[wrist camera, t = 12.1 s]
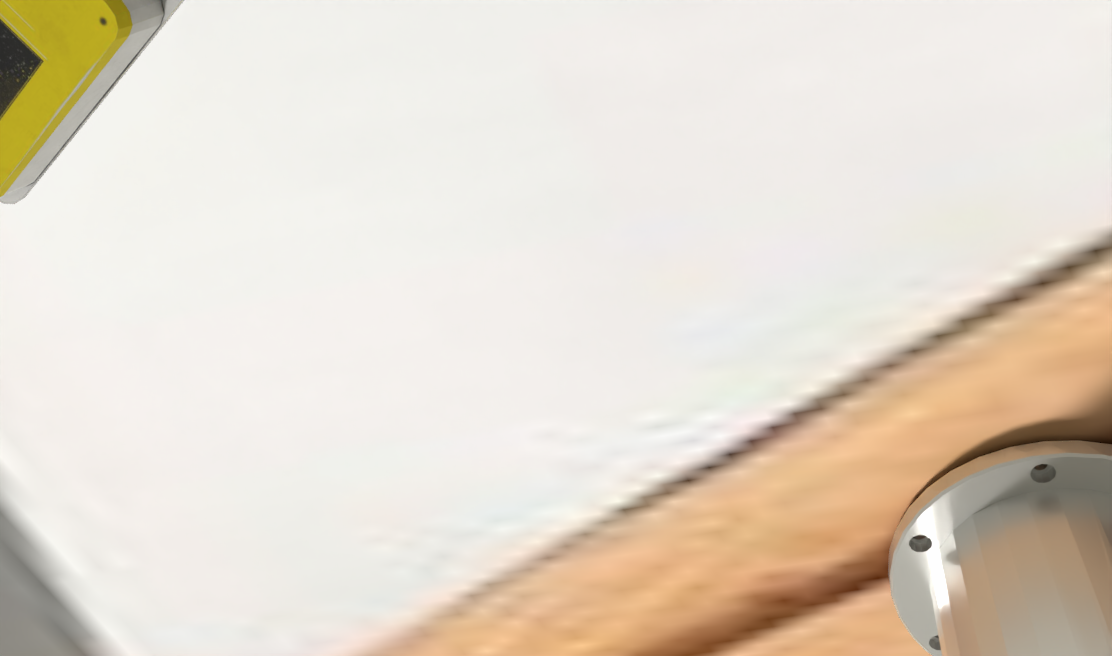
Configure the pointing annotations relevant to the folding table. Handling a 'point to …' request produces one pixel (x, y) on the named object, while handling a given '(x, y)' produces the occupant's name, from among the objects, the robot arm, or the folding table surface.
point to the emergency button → (62, 74)
